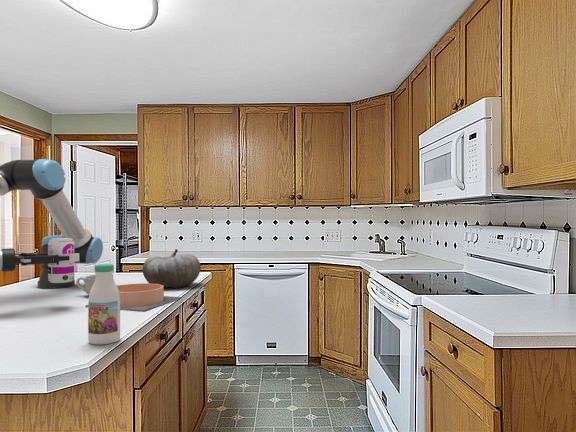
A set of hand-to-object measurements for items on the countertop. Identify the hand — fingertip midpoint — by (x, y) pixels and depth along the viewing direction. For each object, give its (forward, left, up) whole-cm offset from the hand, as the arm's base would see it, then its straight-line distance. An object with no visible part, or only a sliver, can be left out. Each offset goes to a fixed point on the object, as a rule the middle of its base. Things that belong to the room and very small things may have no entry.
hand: (75, 256), depth 161 cm
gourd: (-48, +9, -18) cm, 52 cm away
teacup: (-19, -8, -18) cm, 27 cm away
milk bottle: (+33, +39, -18) cm, 54 cm away
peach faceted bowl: (-12, +16, -18) cm, 27 cm away
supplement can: (+4, -3, -9) cm, 10 cm away
